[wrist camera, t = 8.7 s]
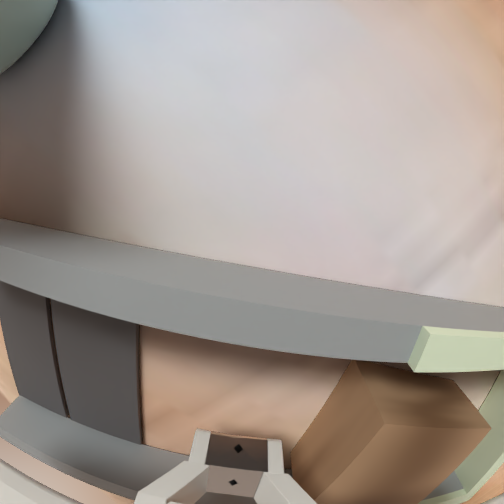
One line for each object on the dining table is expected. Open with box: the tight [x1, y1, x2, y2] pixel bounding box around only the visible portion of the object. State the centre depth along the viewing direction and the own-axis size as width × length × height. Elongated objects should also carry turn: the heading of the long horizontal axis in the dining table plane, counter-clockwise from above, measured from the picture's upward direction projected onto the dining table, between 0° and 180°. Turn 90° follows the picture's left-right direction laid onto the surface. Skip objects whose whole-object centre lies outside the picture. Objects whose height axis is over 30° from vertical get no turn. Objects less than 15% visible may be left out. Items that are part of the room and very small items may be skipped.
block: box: [290, 360, 492, 504], centre depth 10 cm, size 6×6×4 cm
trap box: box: [0, 218, 504, 504], centre depth 10 cm, size 27×11×4 cm, turn 80°
